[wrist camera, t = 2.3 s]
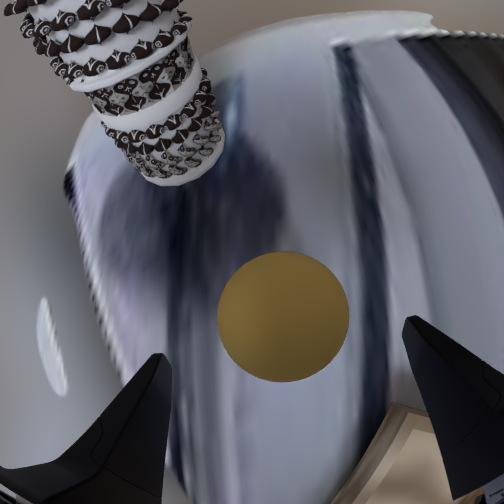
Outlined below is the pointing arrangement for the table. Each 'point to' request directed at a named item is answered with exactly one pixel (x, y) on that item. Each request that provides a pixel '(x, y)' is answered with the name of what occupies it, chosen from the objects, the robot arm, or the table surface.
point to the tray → (401, 465)
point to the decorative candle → (134, 78)
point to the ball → (283, 316)
